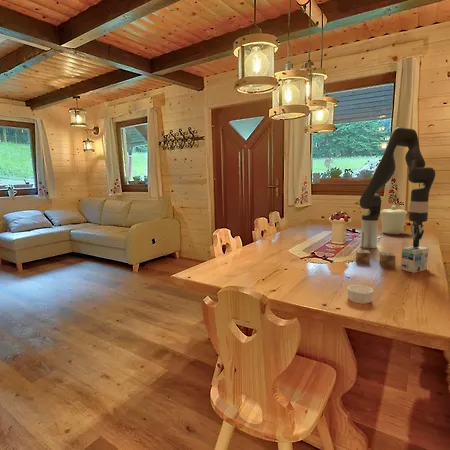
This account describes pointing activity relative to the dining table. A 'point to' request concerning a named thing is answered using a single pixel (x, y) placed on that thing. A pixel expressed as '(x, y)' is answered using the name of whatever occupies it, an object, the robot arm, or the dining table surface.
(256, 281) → the dining table surface
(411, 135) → the robot arm
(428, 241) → the dining table surface
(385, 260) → the walnut block one
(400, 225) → the canister
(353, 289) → the ramekin
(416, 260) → the light bulb box
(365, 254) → the walnut block two
